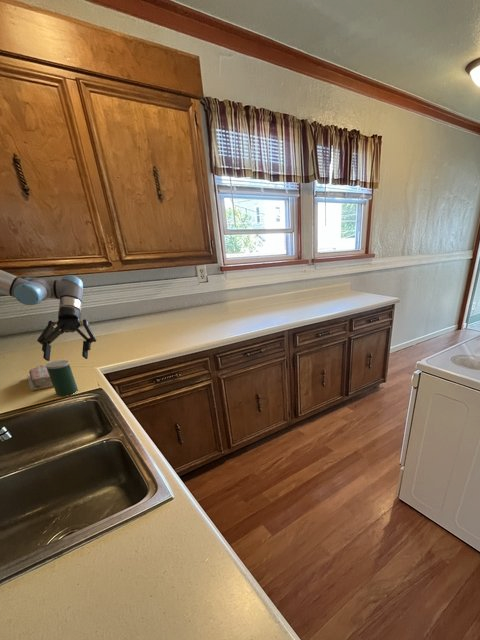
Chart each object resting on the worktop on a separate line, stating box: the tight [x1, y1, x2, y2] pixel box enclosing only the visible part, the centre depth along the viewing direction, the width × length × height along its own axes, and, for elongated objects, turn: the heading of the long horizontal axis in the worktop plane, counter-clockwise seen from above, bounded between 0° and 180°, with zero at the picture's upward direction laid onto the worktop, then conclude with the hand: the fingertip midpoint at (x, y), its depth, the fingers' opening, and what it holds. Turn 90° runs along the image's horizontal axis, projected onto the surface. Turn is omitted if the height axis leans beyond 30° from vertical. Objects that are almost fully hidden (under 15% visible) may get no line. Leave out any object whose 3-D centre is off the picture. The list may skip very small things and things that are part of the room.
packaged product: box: [26, 364, 54, 392], centre depth 134 cm, size 18×5×10 cm
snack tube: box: [44, 359, 79, 397], centre depth 123 cm, size 7×7×12 cm
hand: (65, 358), depth 126 cm, fingers open, 13 cm apart
